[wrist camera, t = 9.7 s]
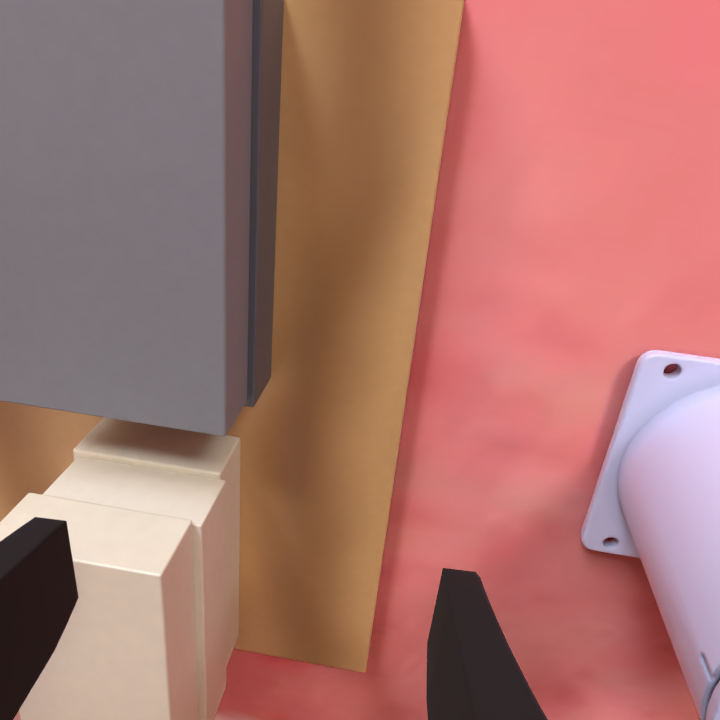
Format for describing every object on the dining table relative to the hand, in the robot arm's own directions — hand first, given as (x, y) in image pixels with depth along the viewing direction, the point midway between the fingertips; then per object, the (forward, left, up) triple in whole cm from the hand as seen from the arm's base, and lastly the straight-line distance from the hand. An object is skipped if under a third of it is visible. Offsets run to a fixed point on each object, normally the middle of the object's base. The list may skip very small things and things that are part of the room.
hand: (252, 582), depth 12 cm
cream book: (+6, +8, -5) cm, 11 cm away
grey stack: (+6, -5, -9) cm, 12 cm away
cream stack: (+6, +8, -9) cm, 14 cm away
